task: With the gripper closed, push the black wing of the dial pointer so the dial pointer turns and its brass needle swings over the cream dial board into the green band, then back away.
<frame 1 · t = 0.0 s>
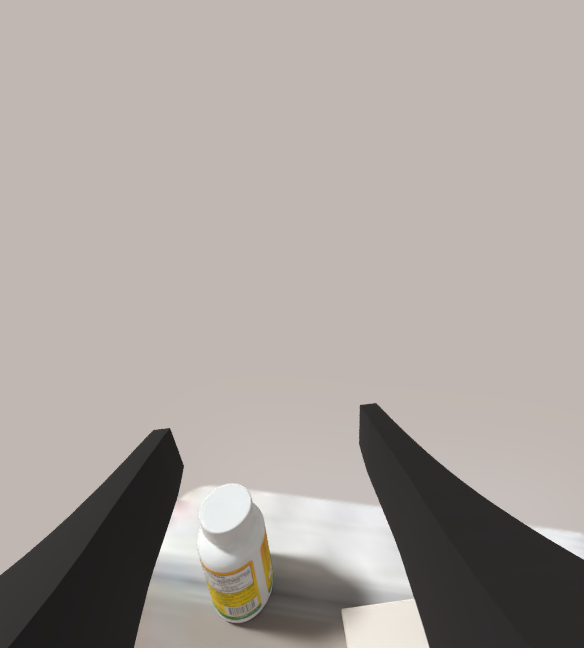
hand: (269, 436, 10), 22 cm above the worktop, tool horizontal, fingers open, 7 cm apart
supplement bottle: (244, 585, 24), on the worktop
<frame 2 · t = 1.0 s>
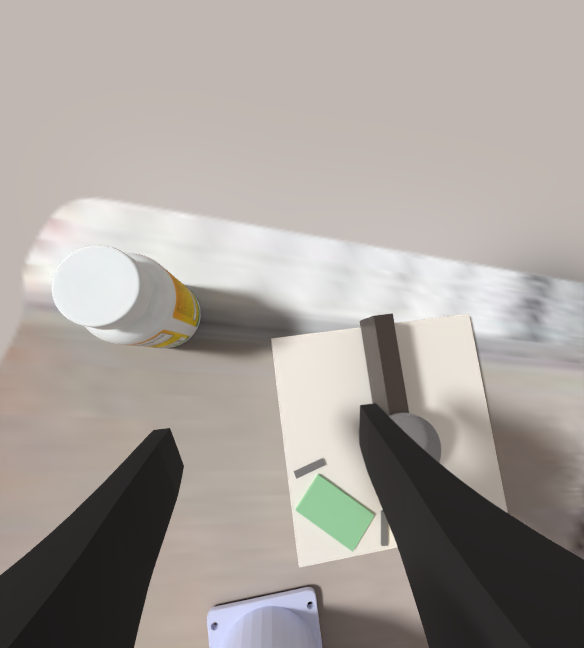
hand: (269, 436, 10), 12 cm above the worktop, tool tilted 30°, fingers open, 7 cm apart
supplement bottle: (170, 315, 23), on the worktop
dial pointer: (395, 434, 20), point 3 cm above the worktop, hinge at 0.0°
dial board: (385, 427, 23), on the worktop
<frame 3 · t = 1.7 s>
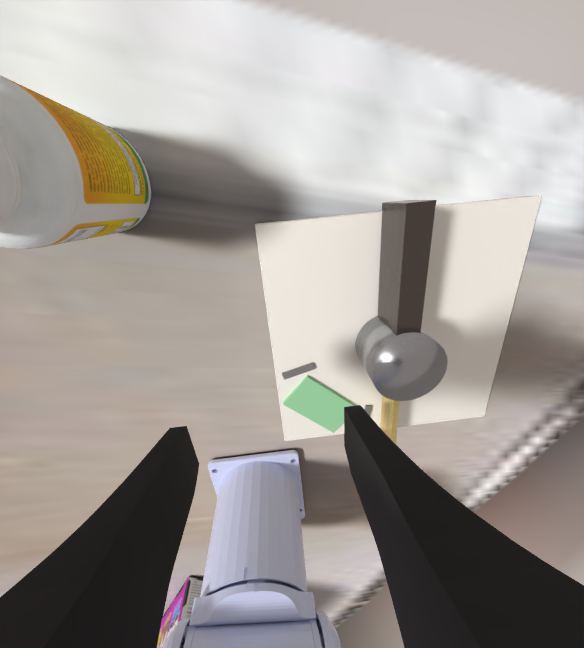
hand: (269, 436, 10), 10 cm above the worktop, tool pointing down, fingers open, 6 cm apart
supplement bottle: (105, 181, 15), on the worktop
candy bar box: (193, 598, 34), on the worktop
dial pointer: (397, 349, 17), point 3 cm above the worktop, hinge at 0.0°
dial board: (386, 332, 20), on the worktop
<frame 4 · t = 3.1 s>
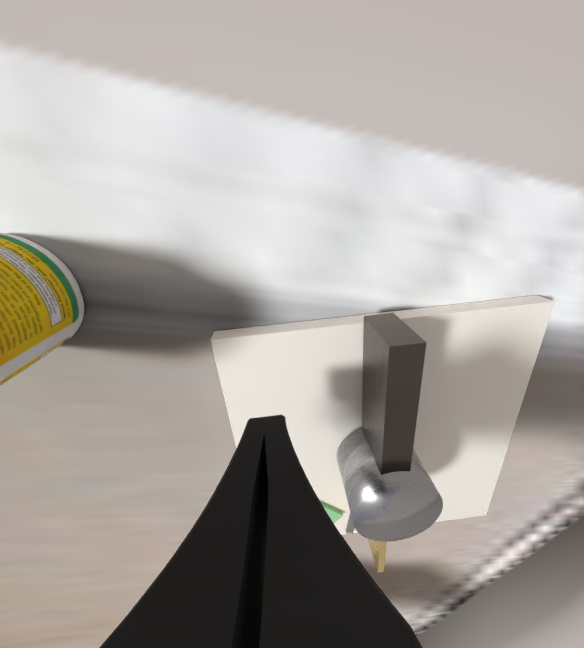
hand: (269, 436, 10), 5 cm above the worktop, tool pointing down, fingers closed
supplement bottle: (29, 290, 13), on the worktop
dial pointer: (384, 474, 15), point 3 cm above the worktop, hinge at 0.0°
dial board: (373, 434, 18), on the worktop
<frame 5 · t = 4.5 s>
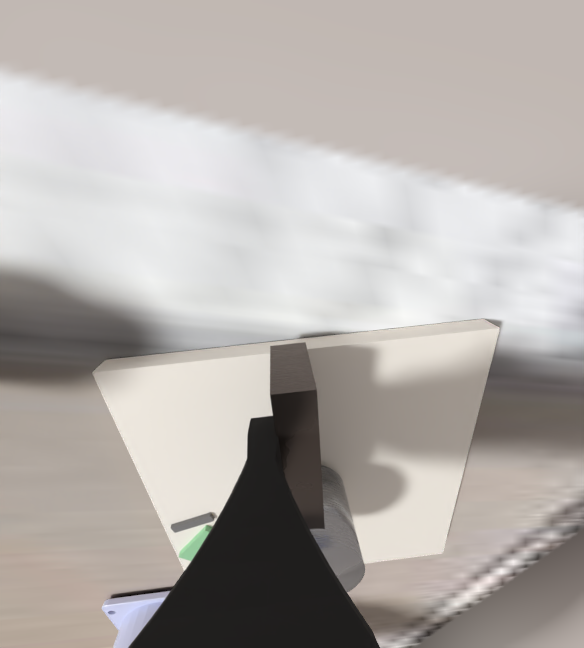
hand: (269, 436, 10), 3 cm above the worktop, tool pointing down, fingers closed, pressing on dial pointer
dial pointer: (306, 524, 13), point 3 cm above the worktop, hinge at 0.1°, touching gripper
dial board: (309, 469, 16), on the worktop
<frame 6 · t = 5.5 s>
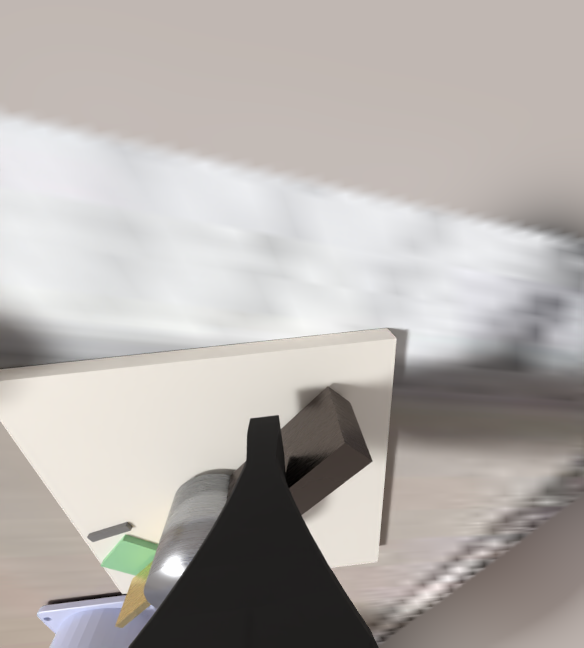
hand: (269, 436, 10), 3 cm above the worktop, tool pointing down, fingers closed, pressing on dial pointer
dial pointer: (215, 537, 13), point 3 cm above the worktop, hinge at 46.4°, touching gripper
dial board: (230, 478, 15), on the worktop
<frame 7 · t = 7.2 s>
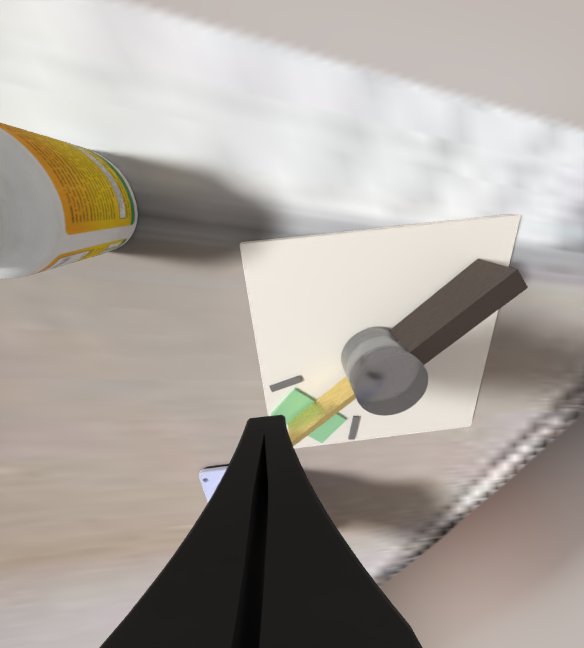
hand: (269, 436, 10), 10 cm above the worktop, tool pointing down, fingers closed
supplement bottle: (93, 202, 16), on the worktop
dial pointer: (385, 365, 18), point 3 cm above the worktop, hinge at 51.1°
dial board: (372, 345, 21), on the worktop
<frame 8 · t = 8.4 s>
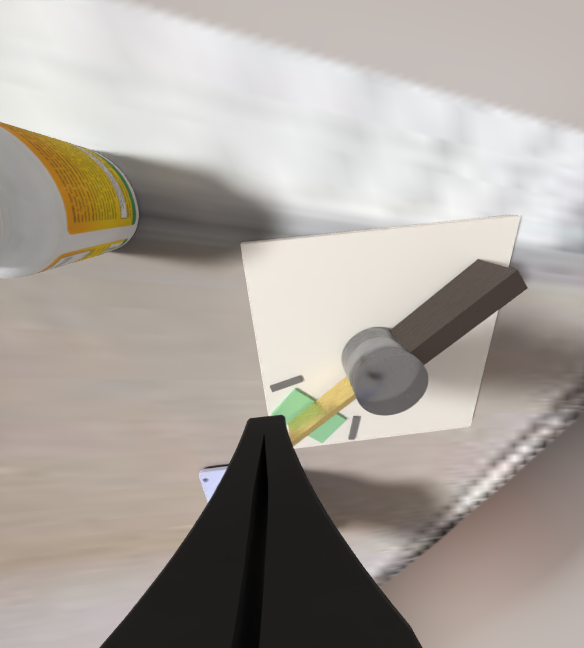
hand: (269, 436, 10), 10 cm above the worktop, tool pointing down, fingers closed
supplement bottle: (94, 202, 16), on the worktop
dial pointer: (385, 366, 18), point 3 cm above the worktop, hinge at 51.1°
dial board: (372, 346, 21), on the worktop
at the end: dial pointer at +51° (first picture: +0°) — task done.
